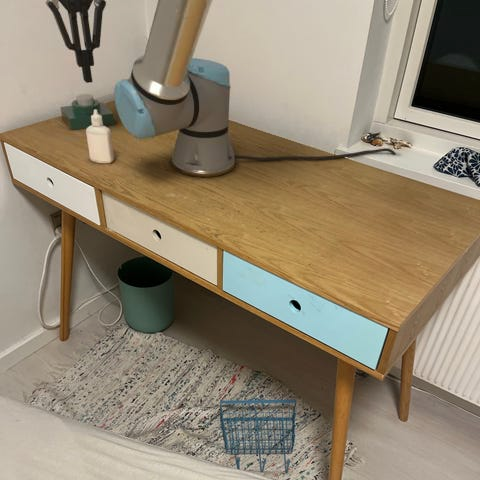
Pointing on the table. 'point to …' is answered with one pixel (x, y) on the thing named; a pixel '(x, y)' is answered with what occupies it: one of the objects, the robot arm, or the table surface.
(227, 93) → the robot arm
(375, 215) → the table surface
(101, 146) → the eye dropper bottle
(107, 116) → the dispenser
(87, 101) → the pale grey short cylinder
